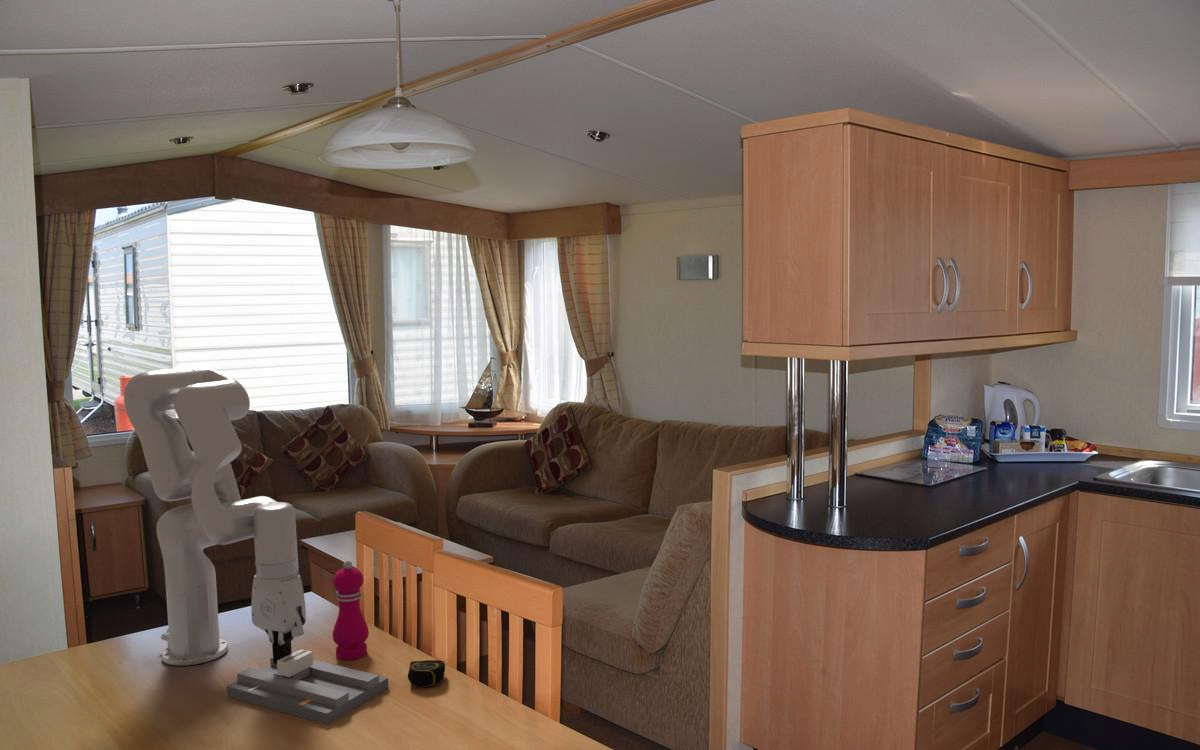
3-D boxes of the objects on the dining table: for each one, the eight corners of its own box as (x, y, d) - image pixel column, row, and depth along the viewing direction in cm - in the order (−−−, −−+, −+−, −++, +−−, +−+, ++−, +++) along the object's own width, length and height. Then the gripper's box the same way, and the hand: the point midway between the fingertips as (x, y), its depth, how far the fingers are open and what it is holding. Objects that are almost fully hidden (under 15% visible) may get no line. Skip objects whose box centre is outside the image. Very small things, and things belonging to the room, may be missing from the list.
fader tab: (278, 682, 170) (276, 660, 170) (302, 670, 176) (301, 648, 175) (289, 685, 169) (288, 663, 169) (313, 672, 174) (312, 651, 174)
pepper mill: (359, 662, 184) (355, 567, 182) (327, 660, 186) (322, 565, 184) (375, 648, 191) (371, 556, 189) (343, 646, 193) (339, 554, 191)
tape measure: (445, 674, 178) (445, 656, 178) (442, 690, 172) (442, 671, 171) (410, 676, 178) (410, 658, 177) (406, 692, 171) (405, 673, 171)
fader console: (227, 696, 170) (226, 678, 170) (292, 664, 184) (291, 647, 184) (327, 724, 158) (326, 705, 158) (388, 687, 173) (387, 670, 172)
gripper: (233, 569, 172) (239, 662, 174) (291, 579, 165) (296, 676, 167) (264, 558, 179) (270, 648, 180) (321, 567, 172) (326, 661, 174)
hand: (282, 661), depth 174 cm, fingers closed
